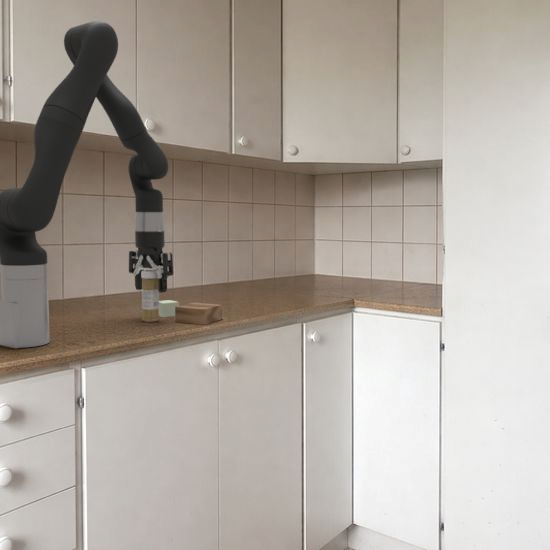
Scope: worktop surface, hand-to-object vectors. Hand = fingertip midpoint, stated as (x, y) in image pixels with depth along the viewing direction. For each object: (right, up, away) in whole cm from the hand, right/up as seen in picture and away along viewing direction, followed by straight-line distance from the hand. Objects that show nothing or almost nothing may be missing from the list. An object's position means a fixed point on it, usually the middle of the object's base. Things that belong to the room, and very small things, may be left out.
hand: (150, 290), depth 155 cm
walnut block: (+13, -8, +1) cm, 15 cm away
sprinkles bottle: (0, -8, +1) cm, 8 cm away
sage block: (+2, -7, +10) cm, 12 cm away
